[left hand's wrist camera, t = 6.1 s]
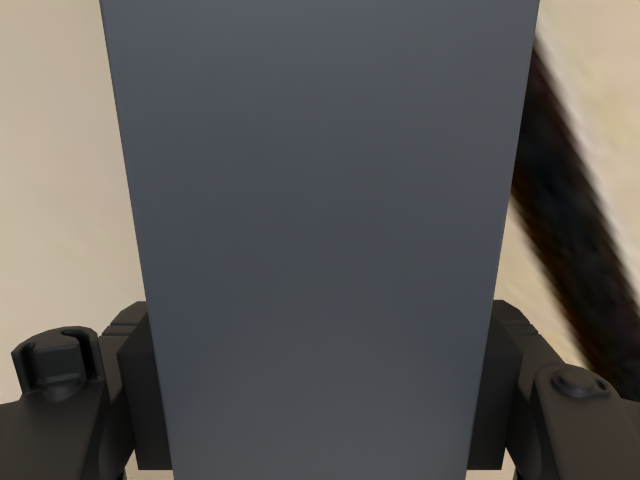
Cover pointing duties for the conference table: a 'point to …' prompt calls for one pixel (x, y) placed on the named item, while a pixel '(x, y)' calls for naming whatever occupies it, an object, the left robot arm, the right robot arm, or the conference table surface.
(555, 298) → the conference table surface
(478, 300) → the bar
